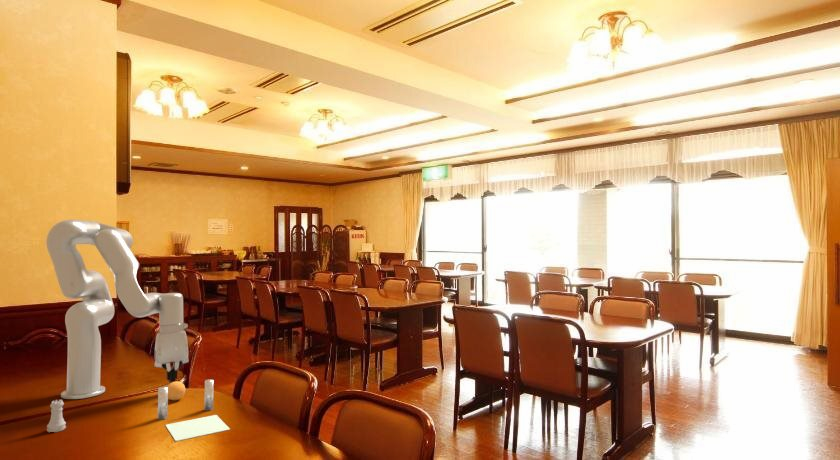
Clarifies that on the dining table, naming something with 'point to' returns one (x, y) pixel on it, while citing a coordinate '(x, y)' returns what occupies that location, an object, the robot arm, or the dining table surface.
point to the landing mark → (196, 427)
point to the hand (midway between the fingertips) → (172, 381)
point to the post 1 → (162, 402)
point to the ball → (176, 390)
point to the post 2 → (208, 395)
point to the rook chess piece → (56, 417)
